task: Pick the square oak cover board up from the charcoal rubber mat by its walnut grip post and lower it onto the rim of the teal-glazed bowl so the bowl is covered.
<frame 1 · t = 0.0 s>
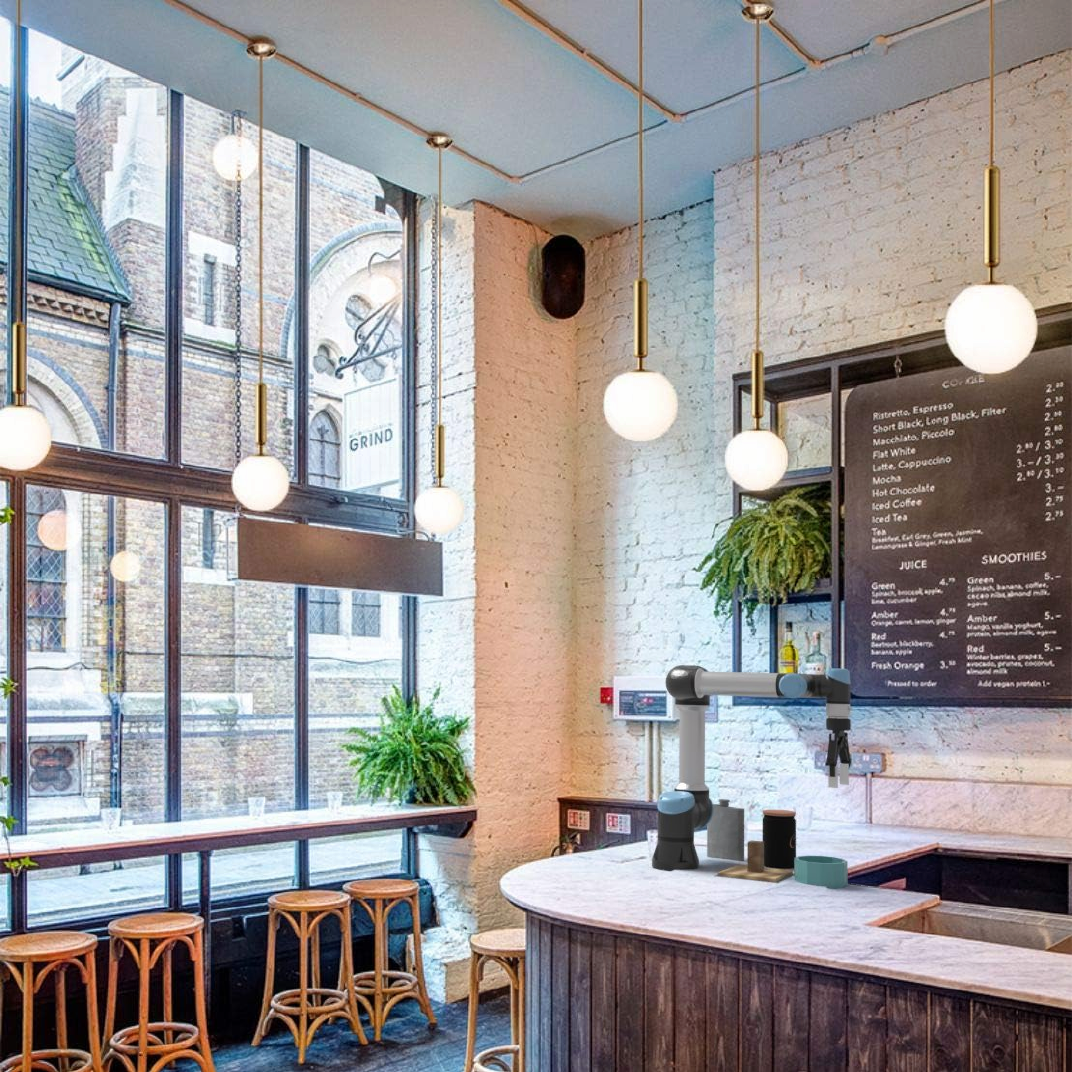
hand: (838, 786, 362), 28 cm above the counter, fingers open, 13 cm apart
coffee jar: (779, 868, 374), on the counter
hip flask: (724, 860, 390), on the counter
teal bowl: (820, 883, 348), on the counter
rubber mat: (755, 876, 357), on the counter
oak cover: (755, 874, 357), point 1 cm above the counter, touching rubber mat
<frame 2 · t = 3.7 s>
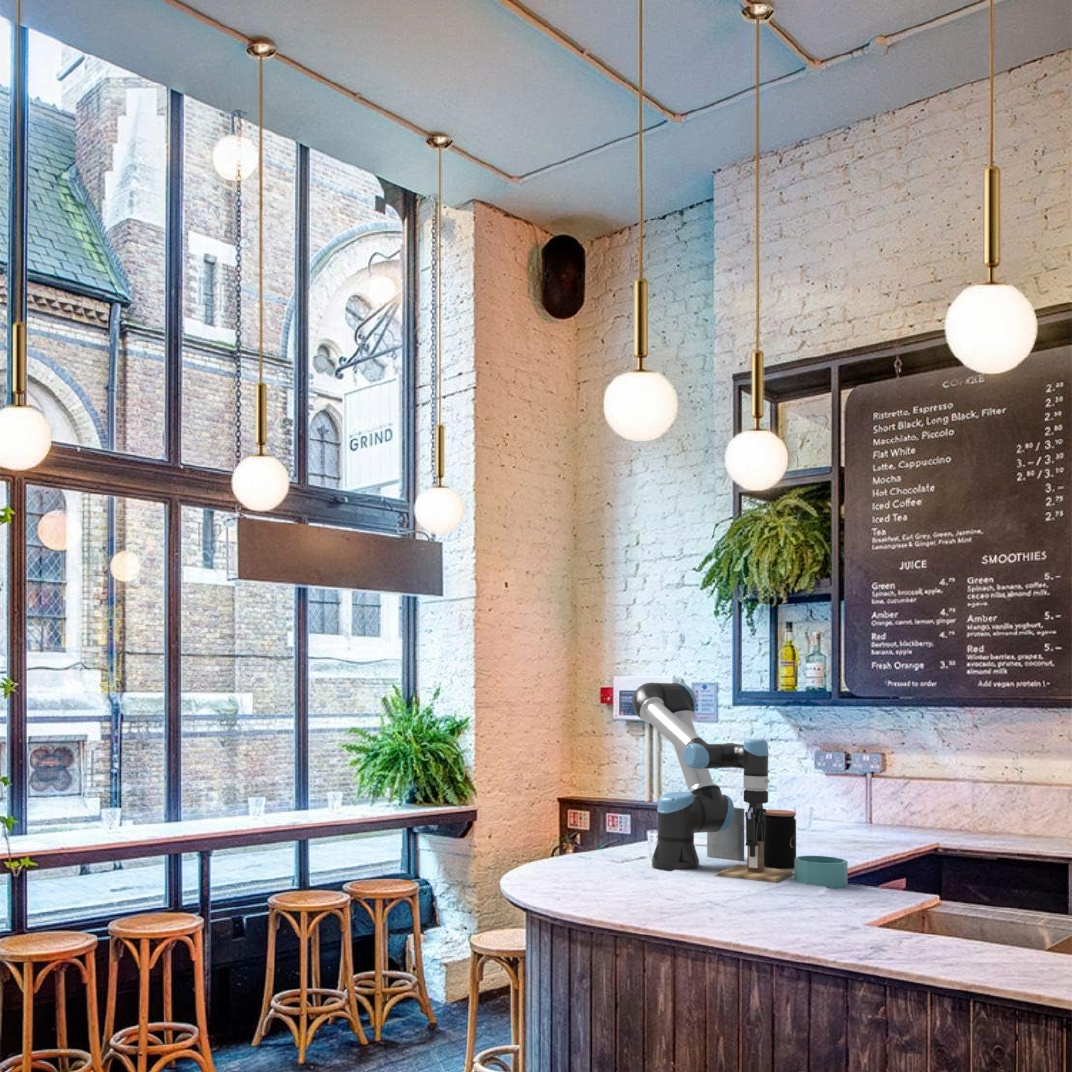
hand: (755, 866, 357), 3 cm above the counter, fingers closed on oak cover, 4 cm apart
oak cover: (755, 874, 357), point 1 cm above the counter, touching gripper, rubber mat
everything else where it was.
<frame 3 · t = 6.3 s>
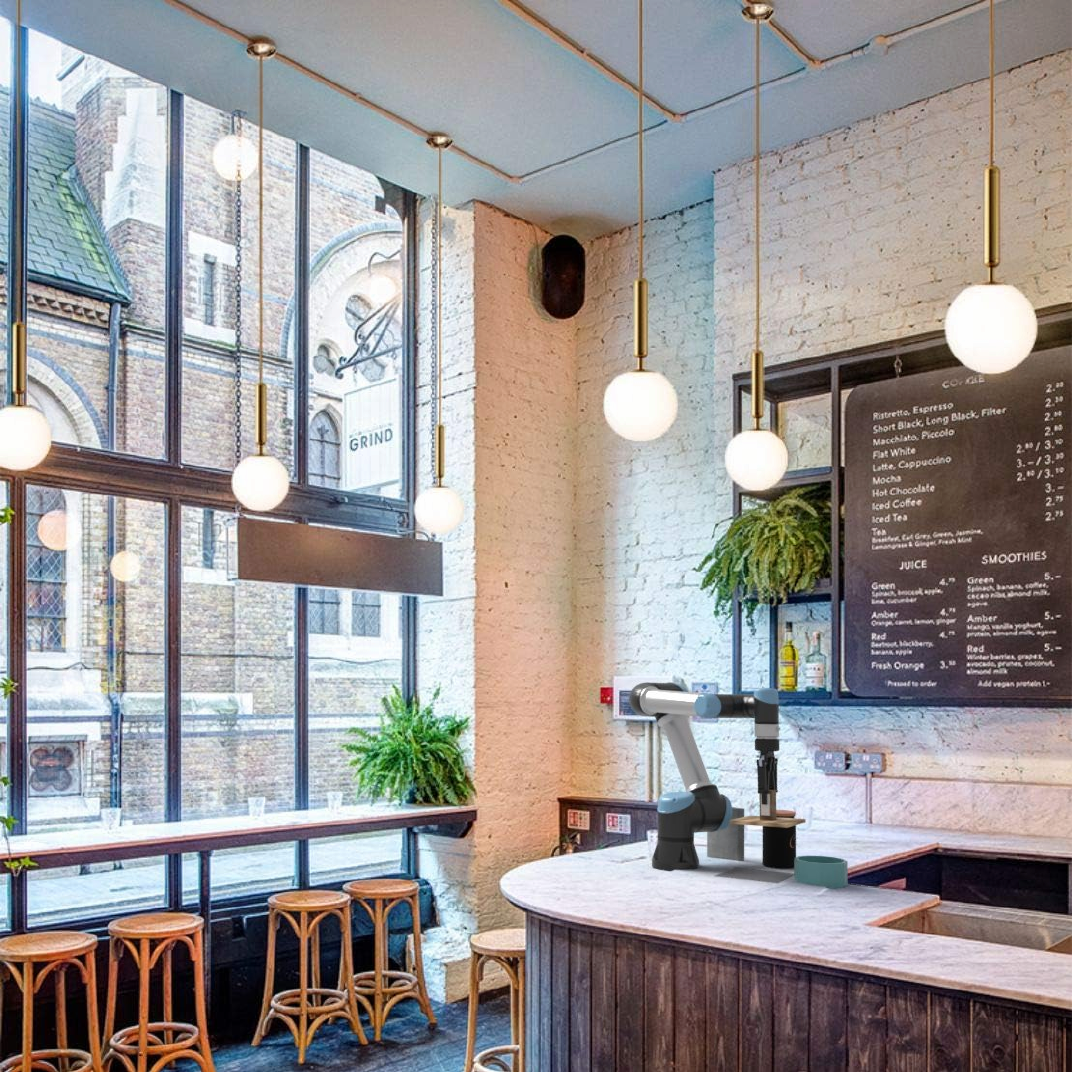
hand: (768, 814, 357), 19 cm above the counter, fingers closed on oak cover, 4 cm apart
oak cover: (768, 823, 357), point 17 cm above the counter, touching gripper
everything else where it was.
when the fingers open (11 cm above the counter, at t = 8.9 s): oak cover drops 2 cm, resting on teal bowl.
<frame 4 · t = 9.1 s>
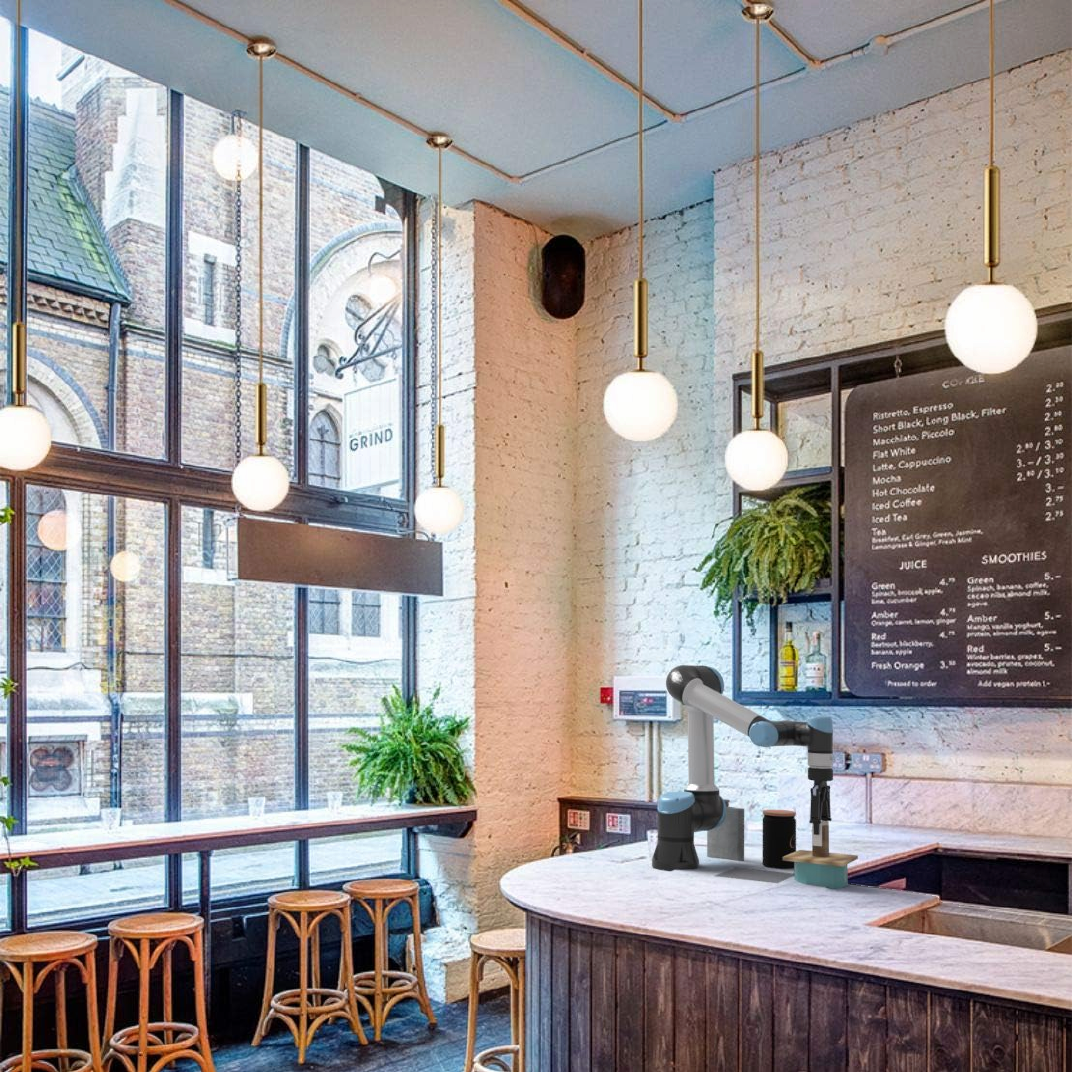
hand: (820, 844, 349), 12 cm above the counter, fingers open, 7 cm apart
teal bowl: (820, 883, 348), on the counter, touching oak cover
oak cover: (820, 859, 349), point 7 cm above the counter, touching teal bowl
everything else where it was.
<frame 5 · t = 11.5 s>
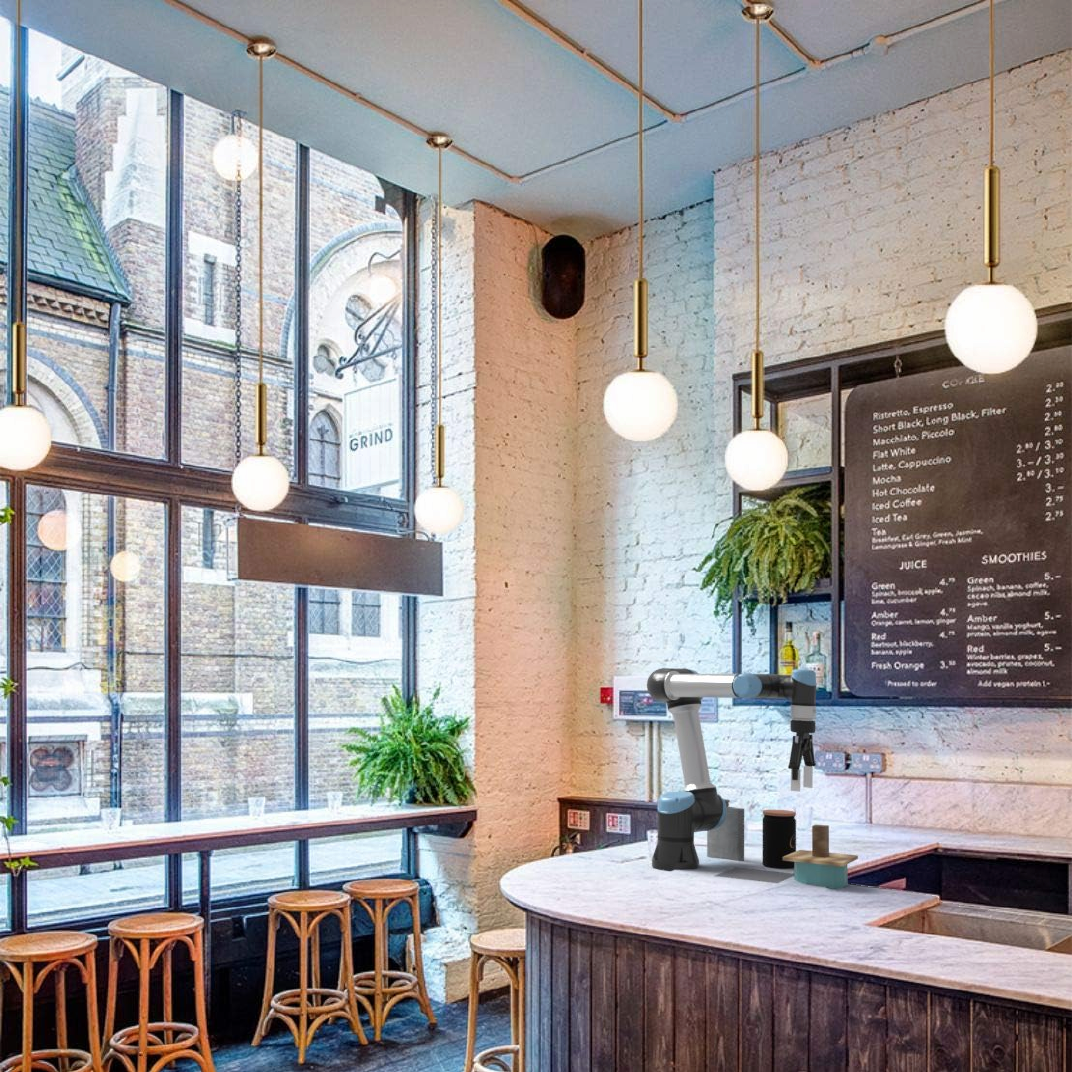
hand: (801, 789, 355), 27 cm above the counter, fingers open, 13 cm apart
nothing on the counter moved.
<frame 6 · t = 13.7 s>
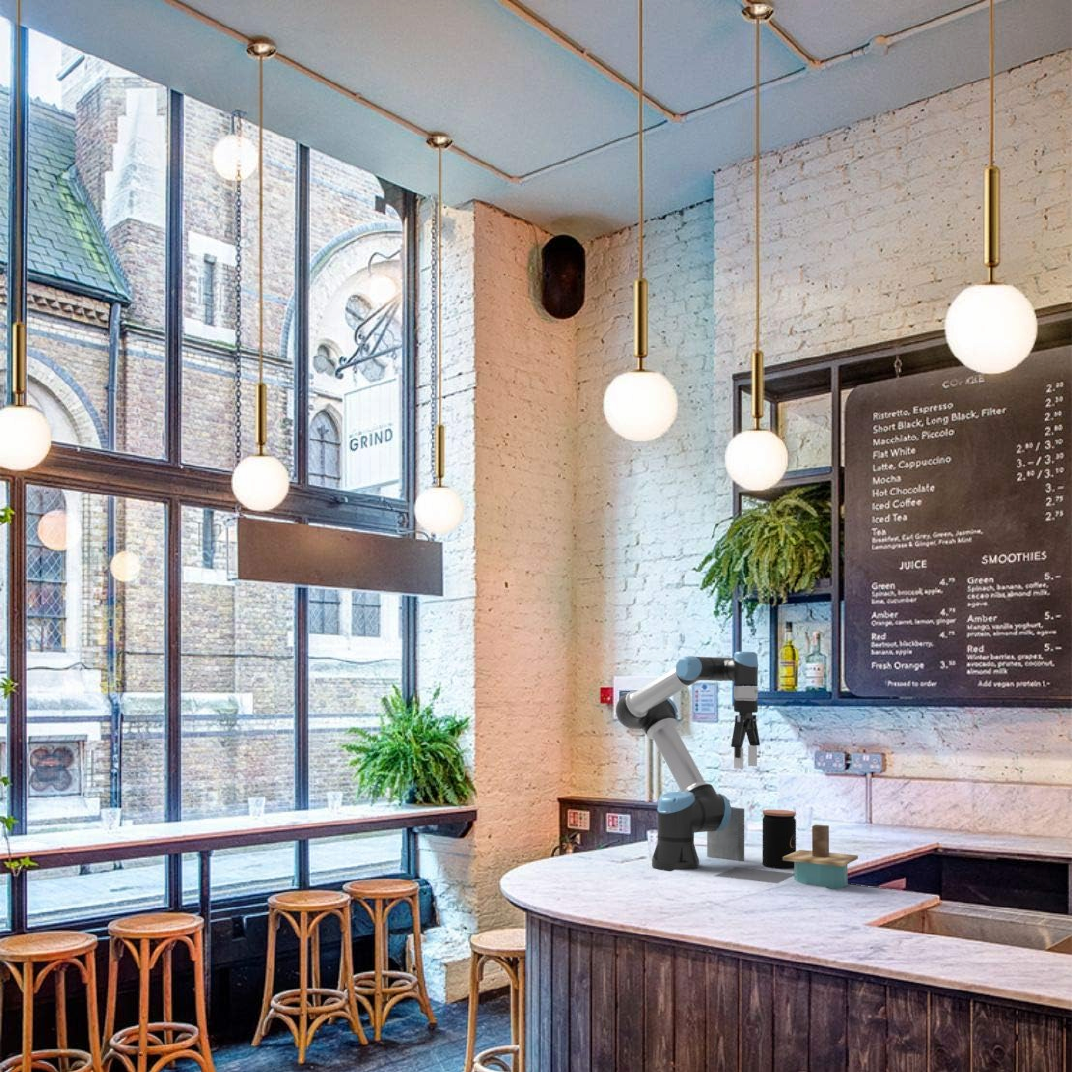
hand: (745, 767, 367), 33 cm above the counter, fingers open, 13 cm apart
nothing on the counter moved.
at the end: oak cover 0.0 cm off-centre on the teal bowl, point 7.0 cm above the teal bowl's base; oak cover tilted 0°; the gripper is holding nothing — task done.
